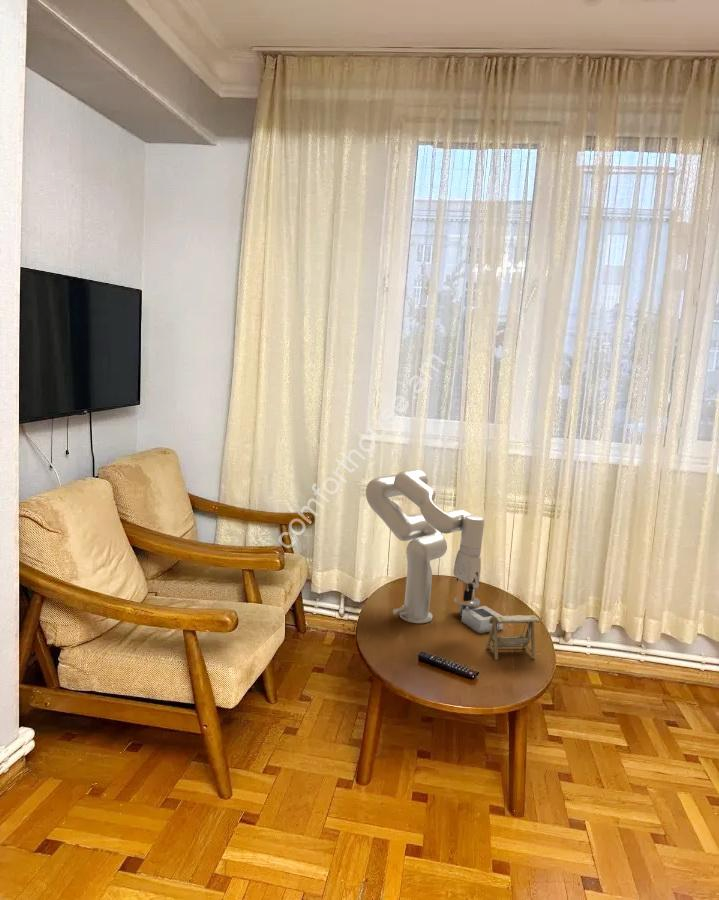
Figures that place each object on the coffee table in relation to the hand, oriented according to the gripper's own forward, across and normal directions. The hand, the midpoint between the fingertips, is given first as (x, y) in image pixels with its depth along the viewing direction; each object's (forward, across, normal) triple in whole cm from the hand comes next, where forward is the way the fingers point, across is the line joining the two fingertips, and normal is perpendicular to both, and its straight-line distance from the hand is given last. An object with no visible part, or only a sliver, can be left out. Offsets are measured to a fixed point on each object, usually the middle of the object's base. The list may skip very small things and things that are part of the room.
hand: (464, 598), depth 247 cm
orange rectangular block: (+1, 0, 0) cm, 1 cm away
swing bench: (+14, +19, +8) cm, 25 cm away
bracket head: (+14, -9, +13) cm, 21 cm away
